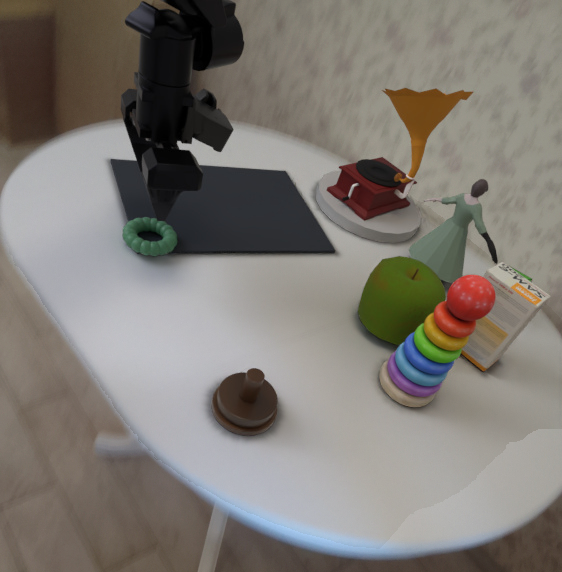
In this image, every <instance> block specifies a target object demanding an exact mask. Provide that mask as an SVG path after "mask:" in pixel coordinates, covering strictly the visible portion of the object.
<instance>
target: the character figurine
mask: <svg viewBox="0 0 562 572" xmlns="http://www.w3.org/2000/svg"><path fill="white" fill-rule="evenodd" d="M488 191H489V182H488V180H487V179H485V178H479V179H478V180H477V181H475V182H474V183H473V184H472V186H471V189H470V193H466V192H461V193H459V194H456V195H453V196H450V197H449V196H443V197H431V198H427V199H423V202H424V203H425V202H432V203H436V202H439V203H441V204H442V205H446V206H448V205H455V207H454V212H453V215H452V216H451V217H449V218H447V219H446V220H445V221H444V222H442V223H441V224H440V225H438V226H436V227H435V228H434V229H433V230H431V231H430V232H428V233H426V234H425V235H424V236H422V237H421V238H420V239H418V240H416V241H415V242H414V243H412V244H411V246H410V247H409V248H408V252H409V256H410V258H413V259H416V260H419V261H421V262H422V263H424V264H425V265H427V266H428V267H430V268H431V269H432V270H433V271H434V272H435V273H436V274H437V276H438V277H439V279H440V280H441V281H443V282H447V283H453V282H455V281H456V280H457V279H458V278H460V277H462V276H463V275H464V267H465V266H464V265H465V264H464V263H465V258H466V257H465V256H466V248H467V239H468V235H469V225H470V224H471V223H472V222H473V221H474V222H473V223H474V227H475V229H476V230H477V232H478V234H479V235H480V236H481V237H482V238H483V239H484V241H485V243H486V246H487V249H488V251H489V252H488V253H489V254H490V256H491V260H492V262H493V263H494V264H495V265H497V264H499V260H498V259H499V258H498V254H497V249H496V245H495V243H494V241H493V240H492V239H491V236H490V235H489V233H488V230H487V227H486V225H485V222H484V220H483V219H484V218H483V205H482V204H481V202H480V201H479V198H480V197H481V196H483V195H484V194H485V193H486V192H488Z"/></svg>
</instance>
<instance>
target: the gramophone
mask: <svg viewBox="0 0 562 572" xmlns="http://www.w3.org/2000/svg"><path fill="white" fill-rule="evenodd" d="M381 92H383V93H384V94H385V95H386V96H387V97H388V98H389V99H390V101H391V104H392V105H393V107H394V109H395V111H396V113H397V115H398V117H399V119H400V120H401V121H402V123H403V125H404V126H405V128H406V130H407V131H408V135H409V137H410V147H411V148H410V149H411V151H410V152H411V165H410V166H411V167H410V169H409V171H408V173H405V172H404V171H403V170H401V169H400V168H399V167H398V166H396V165H395V164H393V163H392V162H390V161H389V160H388V159H386V158H384V157H383V156H380V157H376V158H371V159H369V158H365V159H360V160H357V162H352V163H347V164H344V165H343V164H342V165H339V166H338V169H339V170H332V171H329V172H327V173H324V174H323V175H322V177H321V178H320V179H319V181H318V183H317V187H316V189H315V201H316V203H317V205H318V207H319V208H320V210H321V211H322V213H324V214H325V215H326V217H328V218H329V219H330V221H331V222H333V223H335V224H336V225H337V226H339V227H341V228H342V229H344V230H345V231H347V232H349V233H352V234H353V235H356V236H358V237H361V238H362V239H363V238H364V239H367V240H370V241H374V242H379V243H391V244H395V243H401V242H406V241H408V240H409V239H411V238H412V237H414V236H415V234H416V232H417V230H418V229H419V227H420V224H421V221H422V216H421V212H420V208H418V206H417V204H416V203H415V201H414V200H413V199H412V198H411V197H410V196H408V195H409V193H410V191H411V189H412V187H413V186H414V185H416V184H418V182H417V181H416V176H417V174H418V171H419V170H420V167H421V163H422V160H423V157H424V154H425V151H426V150H425V149H426V145H427V142H428V138H430V135H431V134H432V132H433V131H434V130H435V129H436V128H437V126H439V124H440V123H441V122H442V121H444V120H445V119H446V117H447V116H448V115H449V114H450V113H451V111H452V110H453V109H454V108H455V107H456V105H457V104H458V103H460V101H461V100H462V101H467V100H468V99H469V98H470V97H471V95H472V94H473V93H474V91H465V90H464V89H461V90H458V91H454V92H451V93H448V94H446V93H445V92H442V91H441V90H439V89H438V88H432V89H431V88H430V89H427V90H423V91H416V90H414V89H411V88H408V87H402V88H400V89H396V90H394V89H389V88H384V90H383V89H381Z"/></svg>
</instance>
